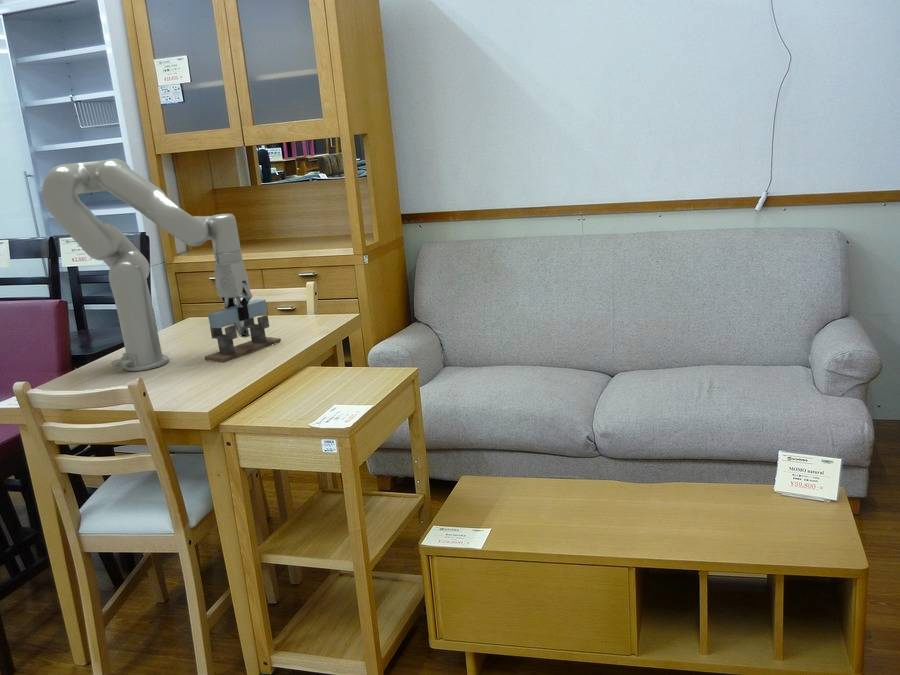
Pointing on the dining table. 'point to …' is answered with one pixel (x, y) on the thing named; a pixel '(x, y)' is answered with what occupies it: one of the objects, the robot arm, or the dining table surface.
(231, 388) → the dining table surface
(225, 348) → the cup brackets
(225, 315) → the rail
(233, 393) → the dining table surface
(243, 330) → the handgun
